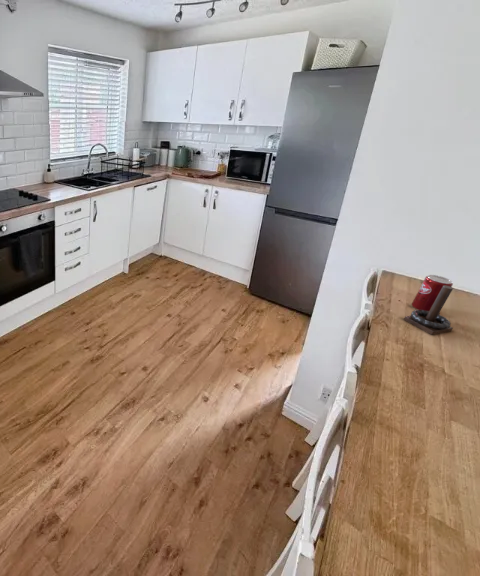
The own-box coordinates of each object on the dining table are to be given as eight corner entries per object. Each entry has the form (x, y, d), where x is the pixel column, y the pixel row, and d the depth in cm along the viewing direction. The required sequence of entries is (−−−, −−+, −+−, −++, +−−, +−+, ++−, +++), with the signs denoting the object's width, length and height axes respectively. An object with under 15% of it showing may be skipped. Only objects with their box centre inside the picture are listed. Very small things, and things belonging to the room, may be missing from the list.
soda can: (411, 309, 130) (427, 279, 124) (410, 301, 135) (425, 272, 129) (437, 317, 126) (455, 286, 120) (435, 308, 131) (452, 278, 126)
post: (451, 331, 118) (474, 292, 112) (431, 334, 116) (454, 295, 109) (422, 316, 126) (442, 279, 119) (403, 319, 124) (422, 281, 117)
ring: (456, 328, 118) (459, 323, 117) (433, 331, 115) (436, 327, 114) (424, 312, 126) (427, 307, 125) (402, 315, 124) (405, 310, 123)
